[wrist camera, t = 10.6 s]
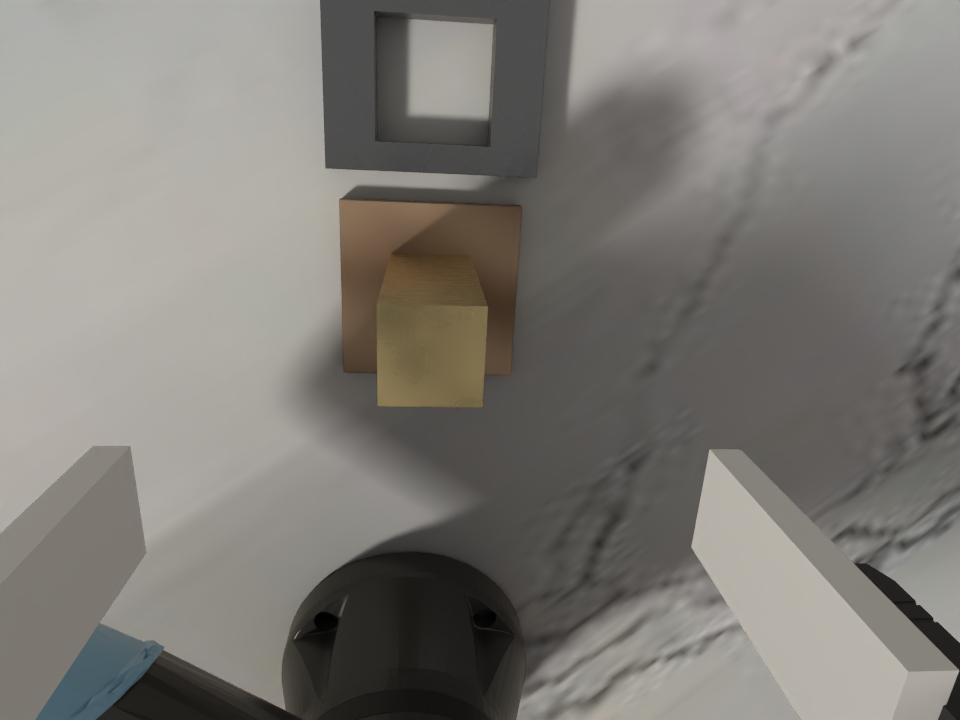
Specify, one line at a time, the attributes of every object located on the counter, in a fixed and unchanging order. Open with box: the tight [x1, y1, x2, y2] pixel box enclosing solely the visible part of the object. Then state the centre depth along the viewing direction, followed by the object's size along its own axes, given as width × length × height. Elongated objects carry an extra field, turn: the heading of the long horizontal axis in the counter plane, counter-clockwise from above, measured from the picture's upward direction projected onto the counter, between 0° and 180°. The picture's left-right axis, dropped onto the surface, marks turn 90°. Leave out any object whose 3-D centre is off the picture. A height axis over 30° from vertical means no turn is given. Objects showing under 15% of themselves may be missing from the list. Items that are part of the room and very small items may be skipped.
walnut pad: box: [339, 198, 522, 375], centre depth 33 cm, size 9×9×1 cm
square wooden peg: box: [377, 253, 488, 407], centre depth 28 cm, size 4×4×10 cm
